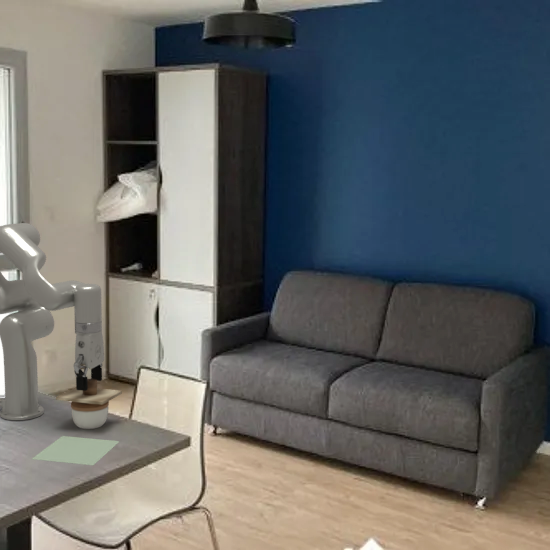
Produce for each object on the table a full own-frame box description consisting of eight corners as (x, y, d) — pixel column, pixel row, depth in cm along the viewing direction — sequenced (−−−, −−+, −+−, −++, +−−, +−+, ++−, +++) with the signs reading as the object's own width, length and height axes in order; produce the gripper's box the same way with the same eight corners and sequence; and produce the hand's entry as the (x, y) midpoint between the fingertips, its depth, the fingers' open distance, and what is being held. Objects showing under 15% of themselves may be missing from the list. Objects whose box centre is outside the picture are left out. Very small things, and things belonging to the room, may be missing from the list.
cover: (55, 399, 213) (56, 383, 213) (78, 388, 227) (78, 373, 226) (102, 404, 210) (102, 387, 210) (122, 393, 224) (122, 377, 224)
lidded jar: (99, 435, 214) (99, 403, 212) (64, 432, 216) (63, 400, 214) (115, 423, 224) (114, 392, 223) (81, 420, 226) (80, 389, 225)
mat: (31, 462, 194) (31, 459, 194) (62, 439, 210) (62, 435, 210) (93, 469, 191) (93, 465, 191) (119, 444, 207) (119, 441, 207)
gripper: (87, 334, 206) (88, 395, 209) (112, 321, 223) (113, 377, 226) (62, 333, 208) (63, 393, 210) (89, 320, 225) (90, 376, 227)
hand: (89, 385), depth 218 cm, fingers open, 9 cm apart
